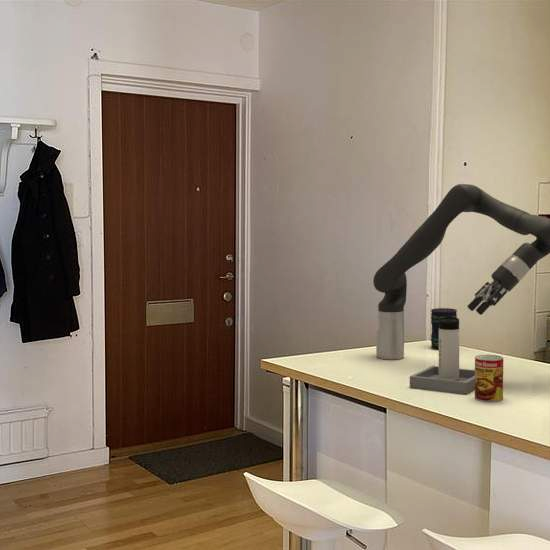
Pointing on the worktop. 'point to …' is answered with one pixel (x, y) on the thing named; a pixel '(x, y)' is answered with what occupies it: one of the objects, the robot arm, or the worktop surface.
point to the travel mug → (449, 348)
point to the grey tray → (443, 381)
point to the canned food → (489, 378)
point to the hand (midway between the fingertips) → (473, 310)
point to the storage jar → (435, 318)
